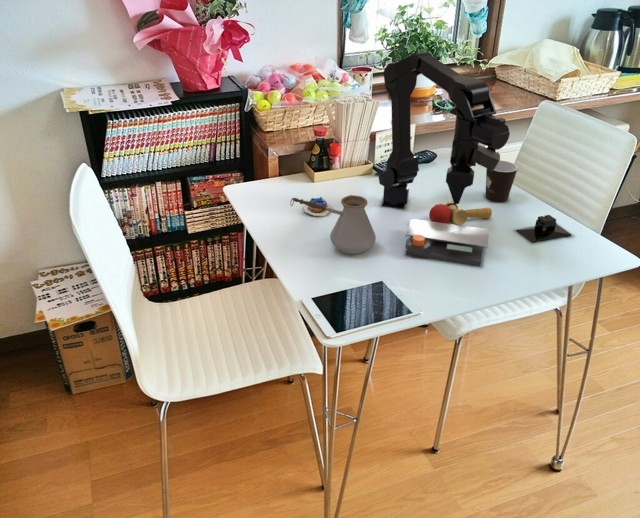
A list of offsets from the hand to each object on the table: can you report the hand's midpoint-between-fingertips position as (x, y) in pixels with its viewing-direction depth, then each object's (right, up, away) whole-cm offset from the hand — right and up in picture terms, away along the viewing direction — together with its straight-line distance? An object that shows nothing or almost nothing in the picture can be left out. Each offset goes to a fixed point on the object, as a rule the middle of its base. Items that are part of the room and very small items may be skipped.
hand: (457, 195), depth 148 cm
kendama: (+4, -6, +14) cm, 15 cm away
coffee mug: (+18, +3, +28) cm, 33 cm away
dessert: (-35, -2, +19) cm, 40 cm away
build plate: (+25, -9, +8) cm, 28 cm away
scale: (-3, -13, +2) cm, 13 cm away
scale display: (-1, -13, -5) cm, 14 cm away
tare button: (-10, -12, -2) cm, 16 cm away
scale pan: (-2, -9, +2) cm, 10 cm away
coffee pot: (-31, -13, +1) cm, 34 cm away
